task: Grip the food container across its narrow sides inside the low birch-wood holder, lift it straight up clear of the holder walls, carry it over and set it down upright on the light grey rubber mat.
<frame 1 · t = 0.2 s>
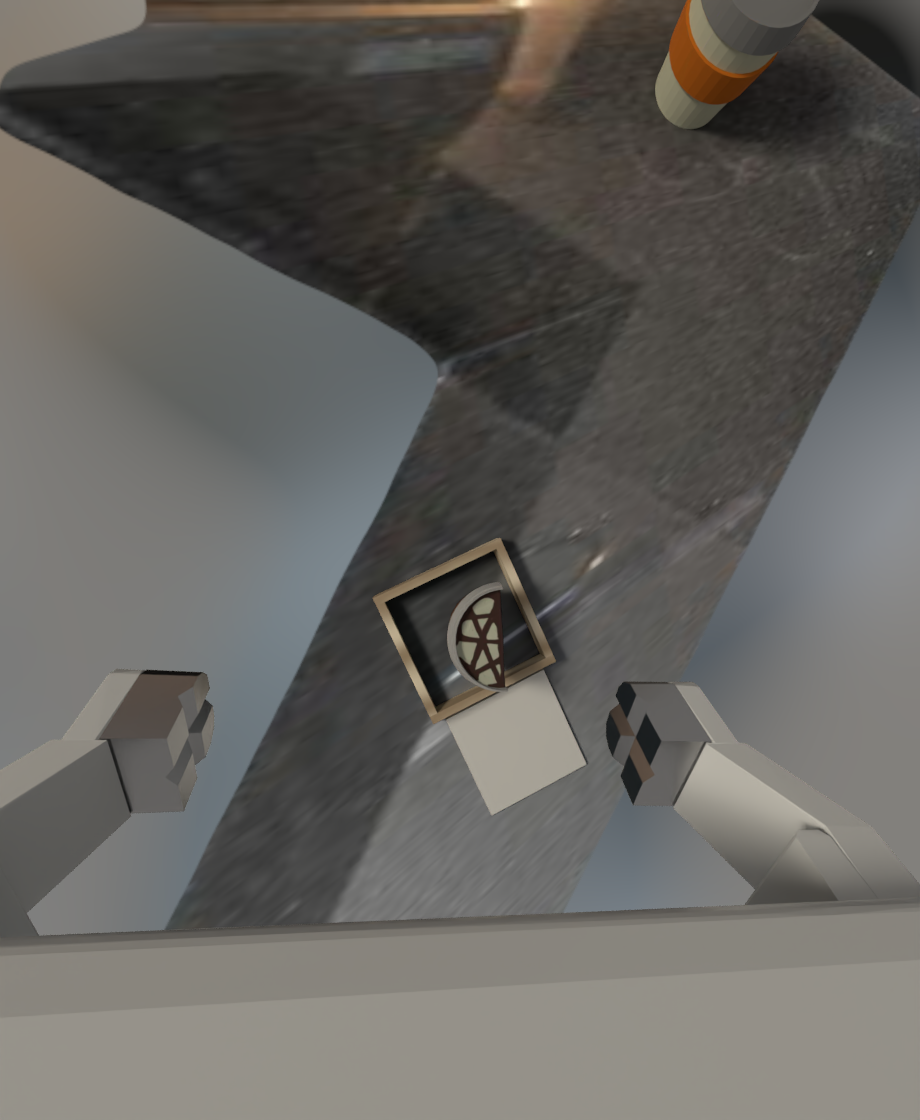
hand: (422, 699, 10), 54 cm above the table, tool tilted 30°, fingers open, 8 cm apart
food container: (463, 627, 65), resting in holder
reusable coffee cup: (686, 95, 68), on the table
mat: (517, 741, 67), on the table
holder: (463, 627, 65), on the table
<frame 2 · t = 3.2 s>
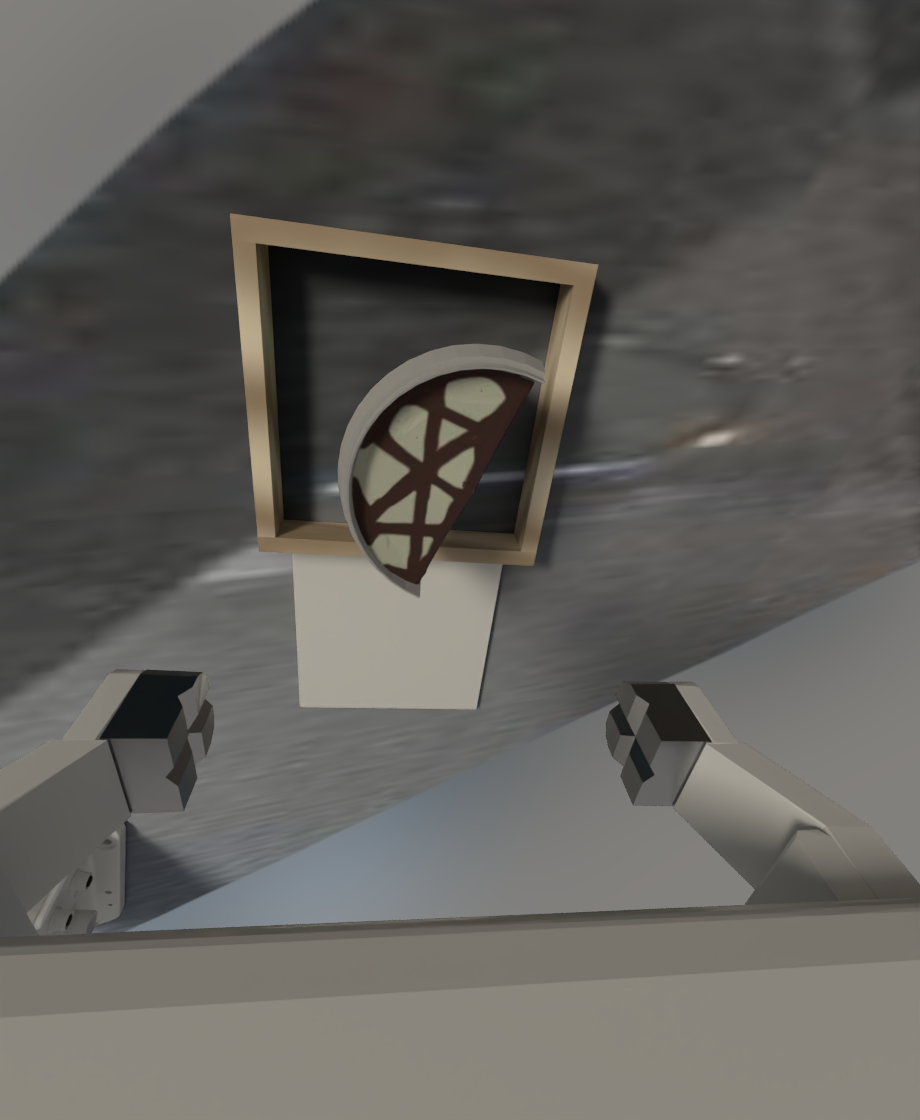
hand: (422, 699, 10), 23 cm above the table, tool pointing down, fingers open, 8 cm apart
food container: (410, 410, 30), resting in holder
mat: (395, 635, 38), on the table
holder: (410, 411, 30), on the table
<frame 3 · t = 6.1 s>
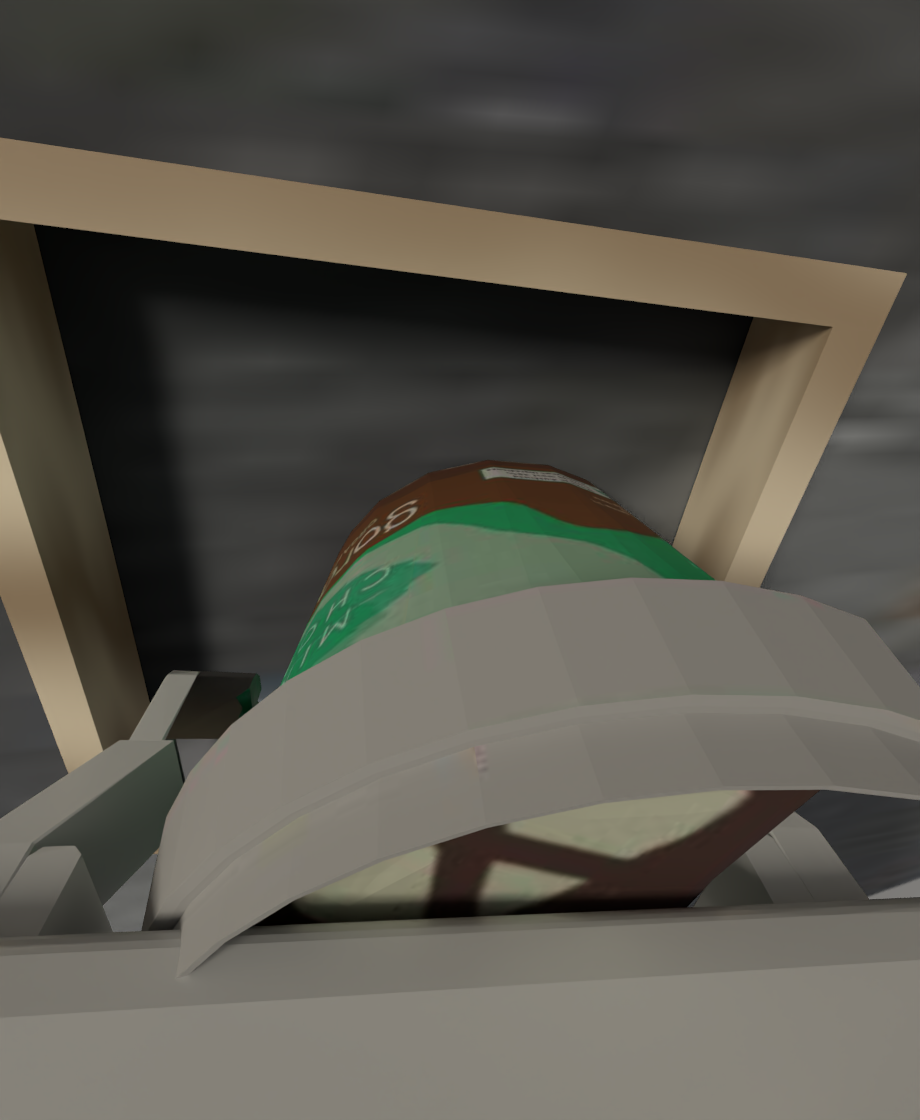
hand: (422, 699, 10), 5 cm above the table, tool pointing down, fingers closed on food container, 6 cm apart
food container: (404, 574, 15), resting in holder, touching gripper
holder: (406, 578, 14), on the table
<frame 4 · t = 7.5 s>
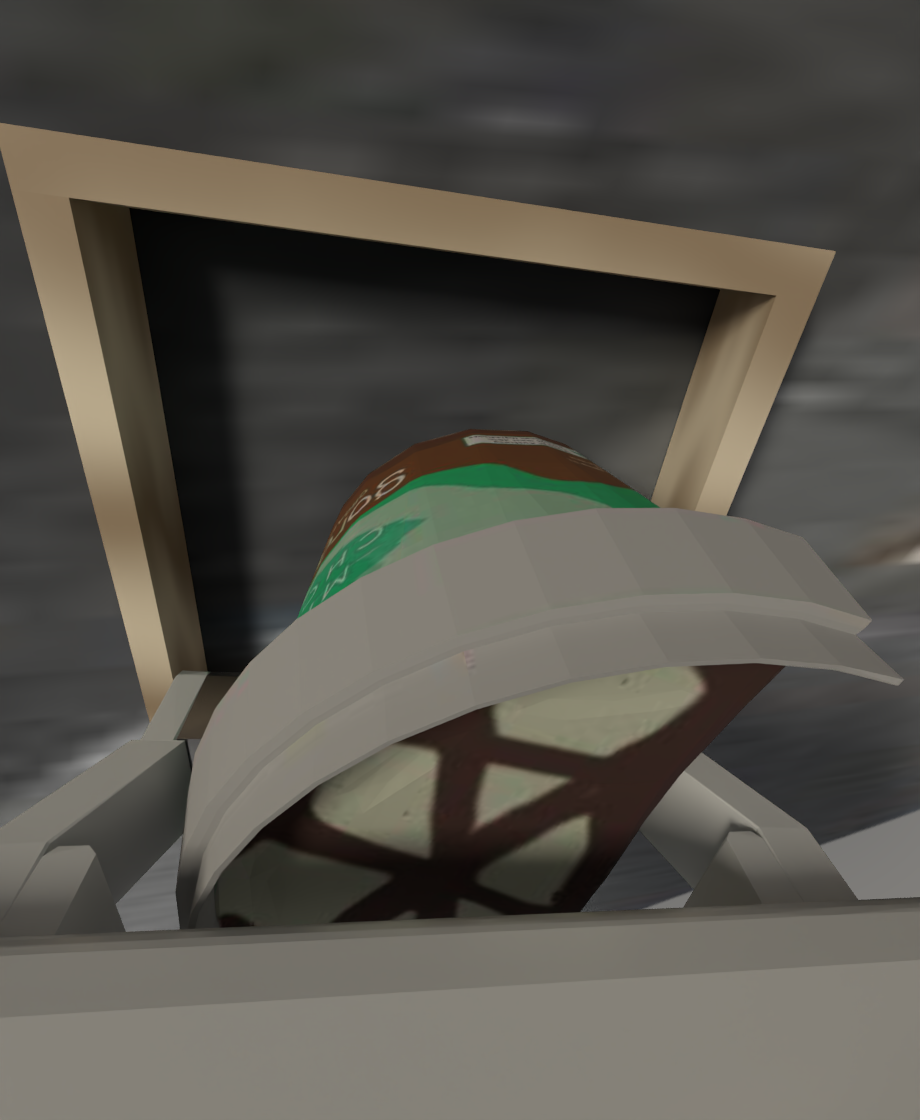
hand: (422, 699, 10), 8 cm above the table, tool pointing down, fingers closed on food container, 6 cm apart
food container: (396, 544, 15), point 2 cm above the table, touching gripper
holder: (423, 518, 17), on the table
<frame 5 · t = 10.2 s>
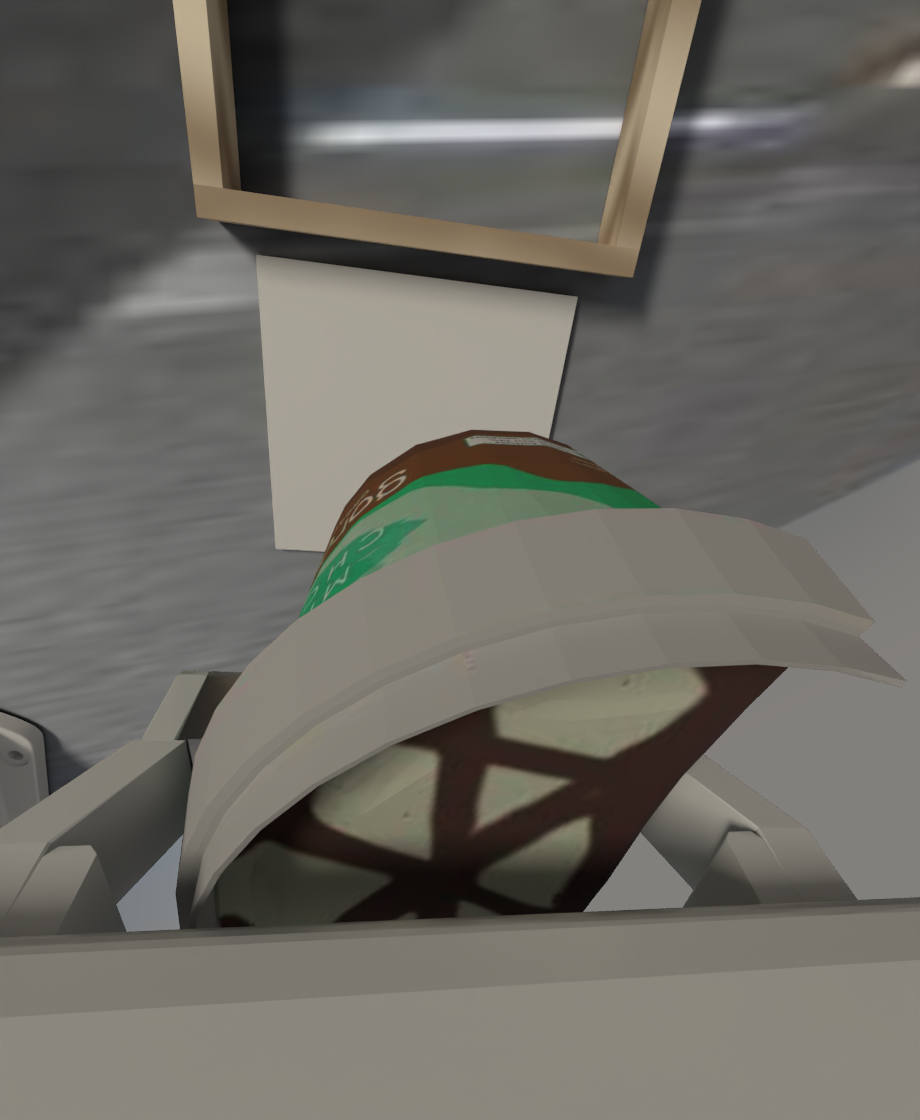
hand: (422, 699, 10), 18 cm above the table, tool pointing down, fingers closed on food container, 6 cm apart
food container: (397, 545, 15), point 13 cm above the table, touching gripper
mat: (412, 432, 26), on the table
when the fingers open (7 cm above the table, at t = 13.3 s): food container stays where it is, resting on mat.
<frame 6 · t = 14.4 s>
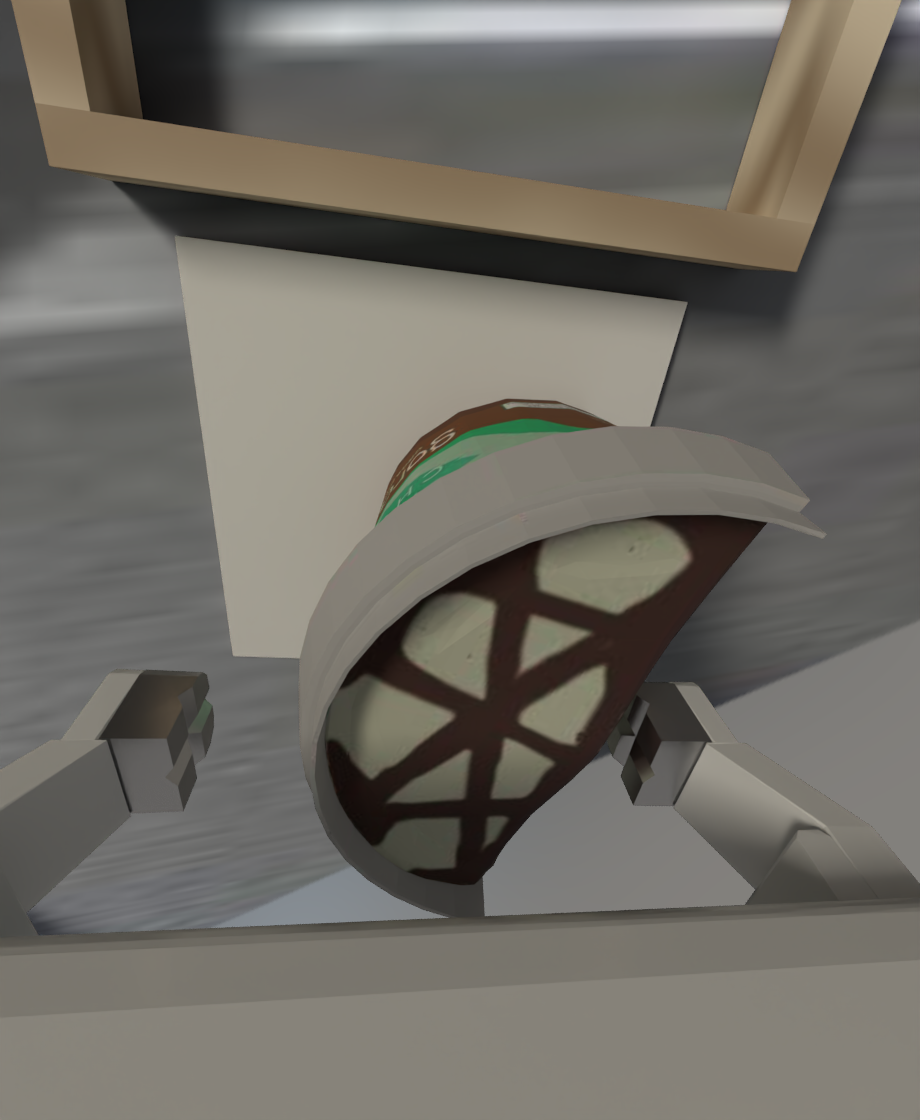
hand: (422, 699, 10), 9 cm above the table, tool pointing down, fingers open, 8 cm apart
food container: (441, 501, 18), resting on mat, touching gripper
mat: (426, 500, 18), on the table
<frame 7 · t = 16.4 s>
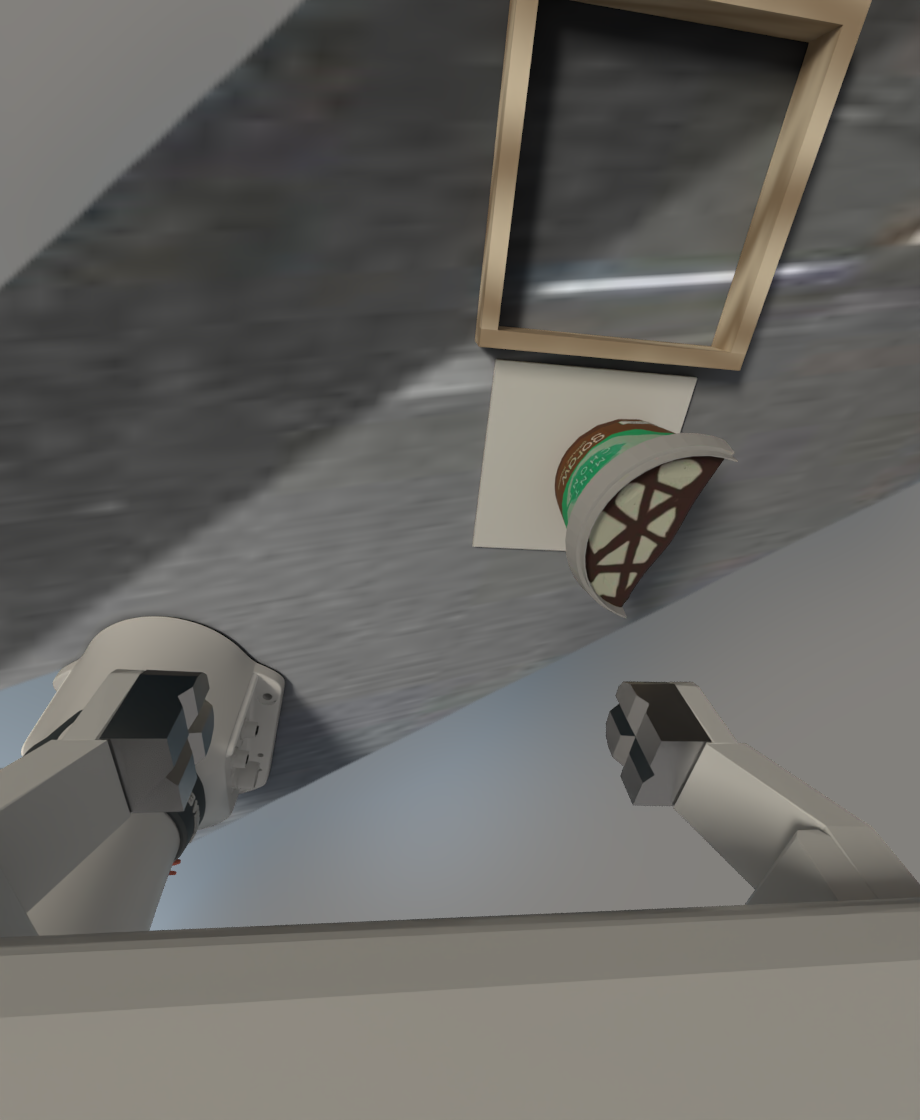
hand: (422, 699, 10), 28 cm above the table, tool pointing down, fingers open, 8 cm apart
food container: (583, 466, 38), resting on mat
mat: (575, 466, 38), on the table
holder: (635, 197, 30), on the table
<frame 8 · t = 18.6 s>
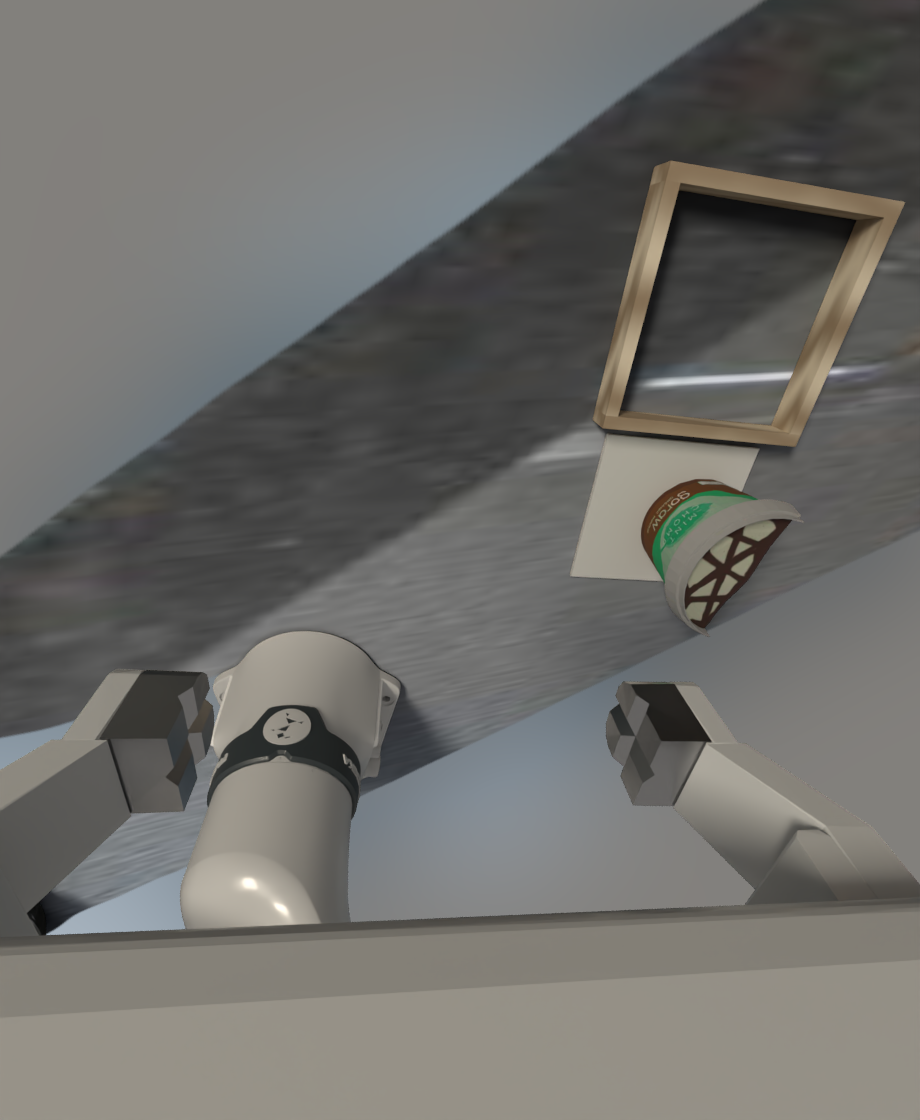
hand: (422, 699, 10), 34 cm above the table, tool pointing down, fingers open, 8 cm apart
food container: (664, 514, 48), resting on mat
mat: (658, 514, 48), on the table
holder: (723, 320, 40), on the table
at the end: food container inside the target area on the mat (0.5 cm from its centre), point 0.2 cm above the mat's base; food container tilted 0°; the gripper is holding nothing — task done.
